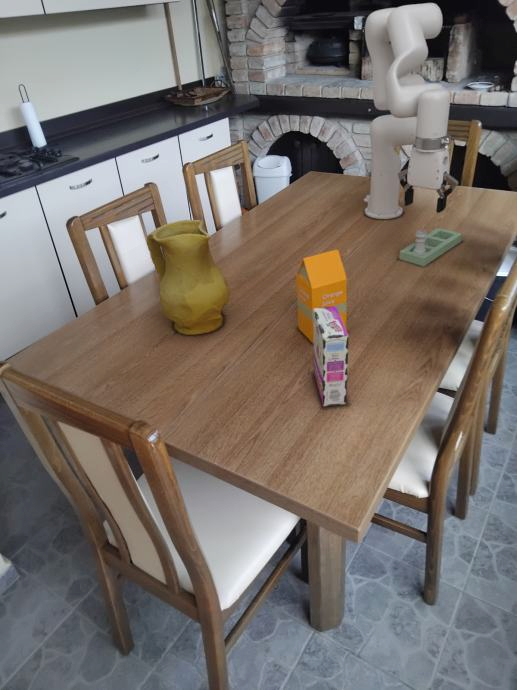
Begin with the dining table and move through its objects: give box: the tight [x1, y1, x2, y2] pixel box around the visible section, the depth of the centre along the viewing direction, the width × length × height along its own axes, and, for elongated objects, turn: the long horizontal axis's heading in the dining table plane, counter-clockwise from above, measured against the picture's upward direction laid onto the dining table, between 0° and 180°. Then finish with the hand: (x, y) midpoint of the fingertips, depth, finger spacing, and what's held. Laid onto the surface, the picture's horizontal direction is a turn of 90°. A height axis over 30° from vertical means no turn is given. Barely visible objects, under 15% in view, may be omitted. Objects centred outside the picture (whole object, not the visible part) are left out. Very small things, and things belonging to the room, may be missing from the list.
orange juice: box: [295, 248, 348, 345], centre depth 123 cm, size 8×9×20 cm
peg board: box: [398, 227, 463, 267], centre depth 158 cm, size 8×21×2 cm, turn 135°
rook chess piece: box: [412, 229, 428, 255], centre depth 153 cm, size 4×4×8 cm
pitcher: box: [146, 219, 231, 336], centre depth 130 cm, size 17×19×25 cm
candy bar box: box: [313, 306, 350, 407], centre depth 106 cm, size 11×5×16 cm, turn 5°
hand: (424, 207), depth 147 cm, fingers open, 9 cm apart
